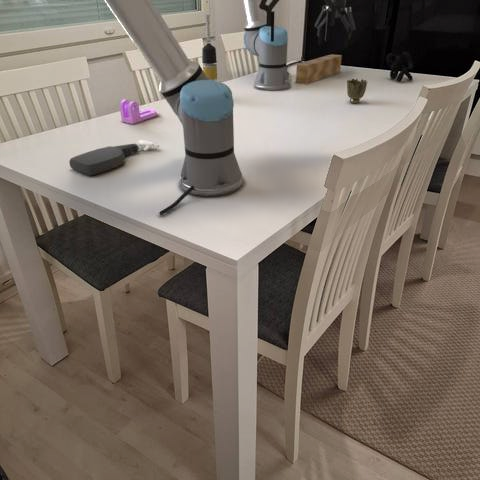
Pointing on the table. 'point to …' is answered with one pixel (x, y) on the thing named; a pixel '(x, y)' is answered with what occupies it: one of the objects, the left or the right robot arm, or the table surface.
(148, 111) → the bracket
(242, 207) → the table surface
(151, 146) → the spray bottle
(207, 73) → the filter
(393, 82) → the table surface
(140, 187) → the table surface
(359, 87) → the cup
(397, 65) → the squiggle
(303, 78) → the bar
